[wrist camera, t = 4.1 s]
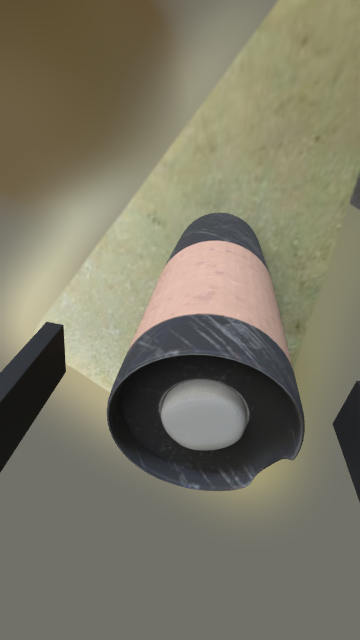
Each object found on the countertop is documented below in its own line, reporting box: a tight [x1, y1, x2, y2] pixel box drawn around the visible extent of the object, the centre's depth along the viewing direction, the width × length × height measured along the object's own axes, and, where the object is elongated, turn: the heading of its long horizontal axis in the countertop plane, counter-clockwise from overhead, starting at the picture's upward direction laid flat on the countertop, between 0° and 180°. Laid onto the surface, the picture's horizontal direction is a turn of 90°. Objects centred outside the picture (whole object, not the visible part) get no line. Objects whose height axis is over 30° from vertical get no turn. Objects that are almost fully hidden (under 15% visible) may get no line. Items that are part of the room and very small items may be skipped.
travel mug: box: [107, 213, 304, 491], centre depth 21 cm, size 8×8×20 cm
